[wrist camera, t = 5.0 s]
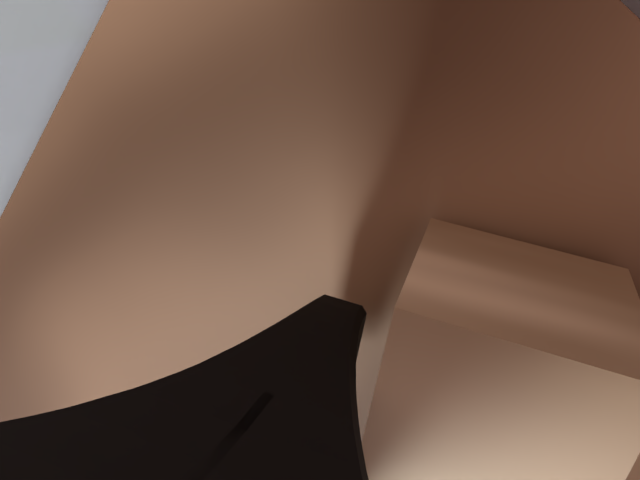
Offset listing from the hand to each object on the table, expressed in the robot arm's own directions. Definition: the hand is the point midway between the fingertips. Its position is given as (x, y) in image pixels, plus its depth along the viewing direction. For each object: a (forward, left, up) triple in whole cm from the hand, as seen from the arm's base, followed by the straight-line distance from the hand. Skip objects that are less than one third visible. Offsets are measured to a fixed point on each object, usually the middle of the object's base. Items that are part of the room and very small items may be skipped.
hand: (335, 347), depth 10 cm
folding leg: (-4, +3, -1) cm, 5 cm away
